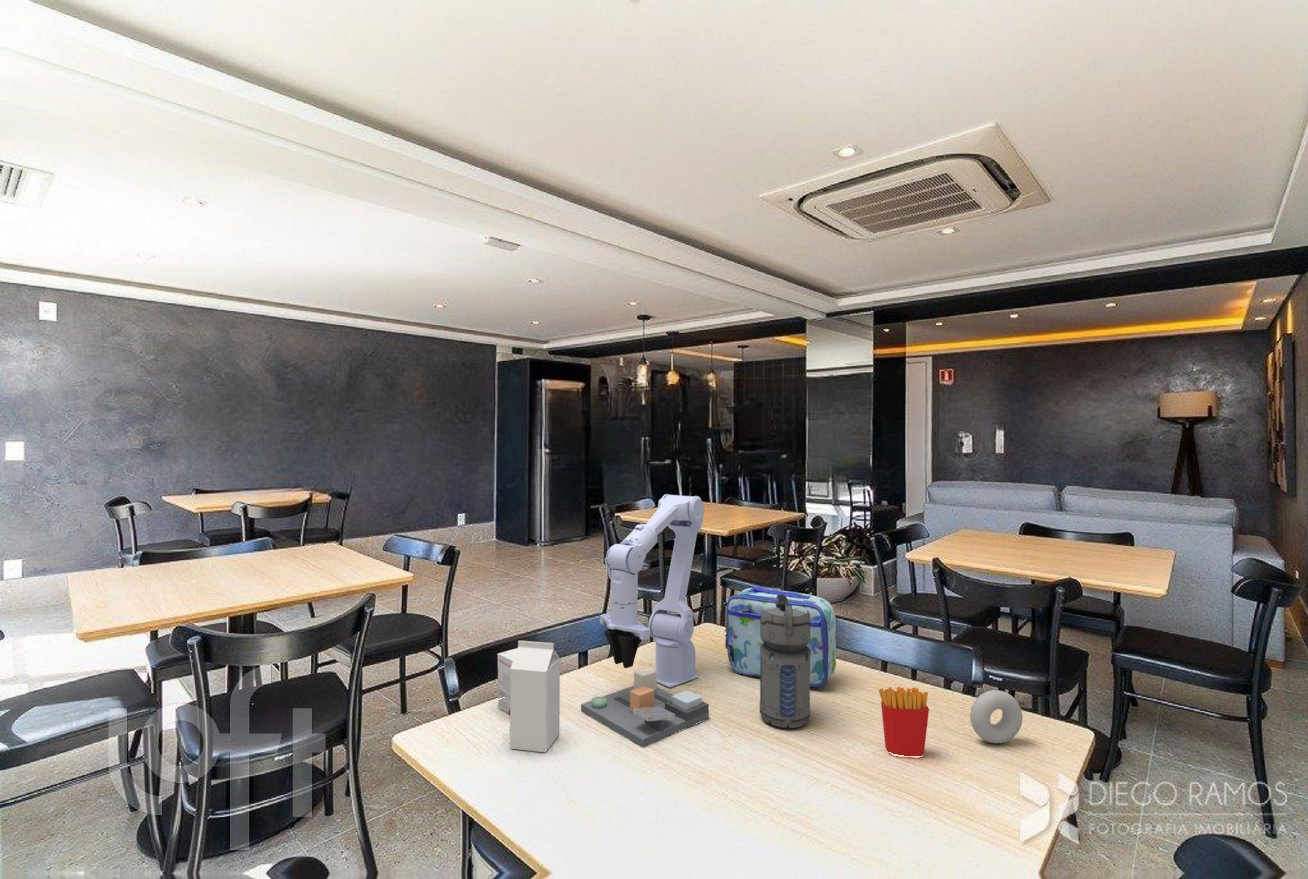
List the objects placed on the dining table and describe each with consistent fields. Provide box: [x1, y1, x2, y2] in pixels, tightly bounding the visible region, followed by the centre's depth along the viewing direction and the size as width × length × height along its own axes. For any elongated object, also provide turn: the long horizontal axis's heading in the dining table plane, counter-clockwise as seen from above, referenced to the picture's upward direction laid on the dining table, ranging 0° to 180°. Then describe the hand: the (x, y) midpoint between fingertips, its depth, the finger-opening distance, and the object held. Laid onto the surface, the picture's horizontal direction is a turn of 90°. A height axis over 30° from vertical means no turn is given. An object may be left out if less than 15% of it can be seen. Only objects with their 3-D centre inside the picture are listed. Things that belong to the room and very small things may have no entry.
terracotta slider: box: [630, 686, 654, 712], centre depth 125 cm, size 4×3×4 cm
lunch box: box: [724, 585, 837, 688], centre depth 148 cm, size 26×11×21 cm, turn 58°
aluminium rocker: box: [633, 706, 675, 721], centre depth 119 cm, size 7×4×1 cm, turn 132°
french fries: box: [878, 686, 930, 756], centre depth 112 cm, size 8×4×12 cm, turn 83°
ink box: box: [497, 647, 518, 715], centre depth 129 cm, size 9×5×12 cm, turn 44°
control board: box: [580, 685, 710, 748], centre depth 127 cm, size 18×20×3 cm
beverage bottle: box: [759, 594, 811, 729], centre depth 126 cm, size 10×13×25 cm
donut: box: [969, 689, 1024, 744], centre depth 116 cm, size 10×3×10 cm, turn 96°
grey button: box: [672, 689, 703, 711], centre depth 126 cm, size 4×4×2 cm
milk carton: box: [509, 640, 561, 753], centre depth 116 cm, size 7×7×19 cm
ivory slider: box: [633, 667, 658, 690], centre depth 135 cm, size 4×3×4 cm
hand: (623, 664), depth 130 cm, fingers closed
